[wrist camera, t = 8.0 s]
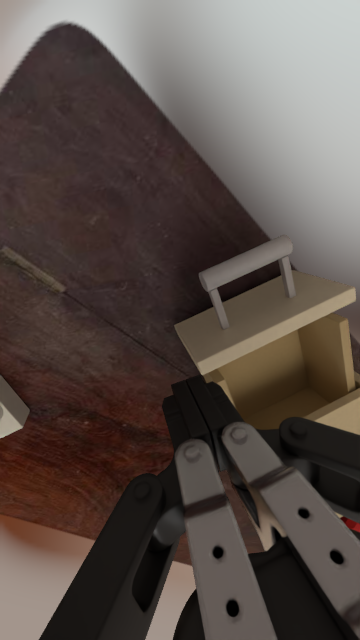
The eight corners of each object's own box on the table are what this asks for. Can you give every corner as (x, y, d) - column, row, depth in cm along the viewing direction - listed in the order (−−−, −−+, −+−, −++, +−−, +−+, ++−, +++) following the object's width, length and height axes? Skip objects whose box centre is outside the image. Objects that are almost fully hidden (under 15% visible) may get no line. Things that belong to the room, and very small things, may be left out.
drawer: (152, 277, 23) (170, 300, 16) (283, 219, 24) (349, 219, 17) (218, 428, 31) (248, 485, 24) (314, 380, 32) (367, 422, 25)
